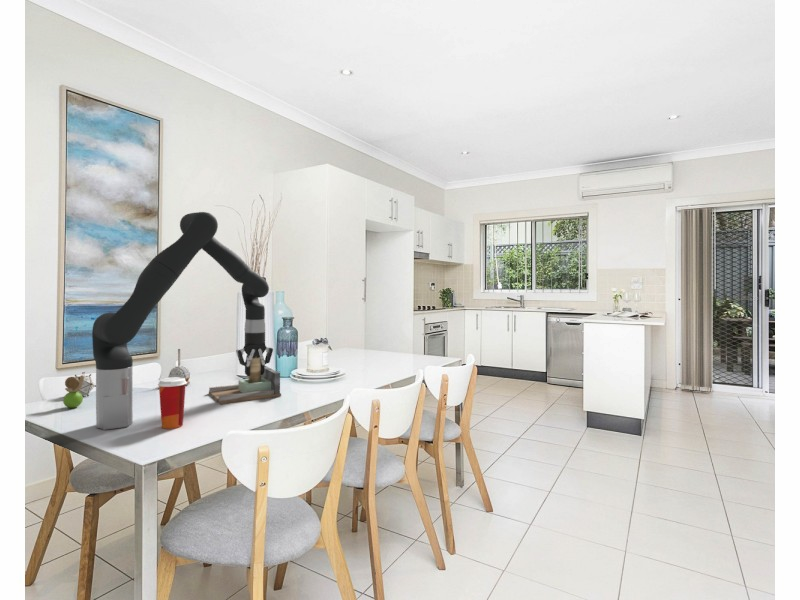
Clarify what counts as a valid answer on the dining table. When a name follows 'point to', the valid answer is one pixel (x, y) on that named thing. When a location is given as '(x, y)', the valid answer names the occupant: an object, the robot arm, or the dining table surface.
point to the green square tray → (254, 385)
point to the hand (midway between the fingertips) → (254, 375)
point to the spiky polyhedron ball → (86, 385)
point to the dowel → (255, 370)
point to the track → (234, 395)
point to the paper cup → (172, 401)
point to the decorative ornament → (180, 371)
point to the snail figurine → (73, 391)
